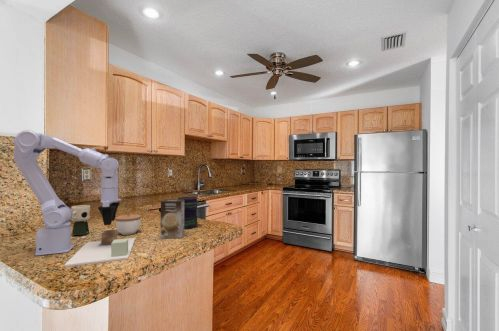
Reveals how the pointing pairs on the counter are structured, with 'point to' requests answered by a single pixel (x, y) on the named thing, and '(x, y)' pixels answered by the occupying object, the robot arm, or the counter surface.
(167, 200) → the coffee box
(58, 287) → the counter surface
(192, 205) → the storage jar
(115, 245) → the sage block
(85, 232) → the character mug
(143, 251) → the counter surface
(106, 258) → the board
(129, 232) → the lidded jar
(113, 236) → the walnut block
